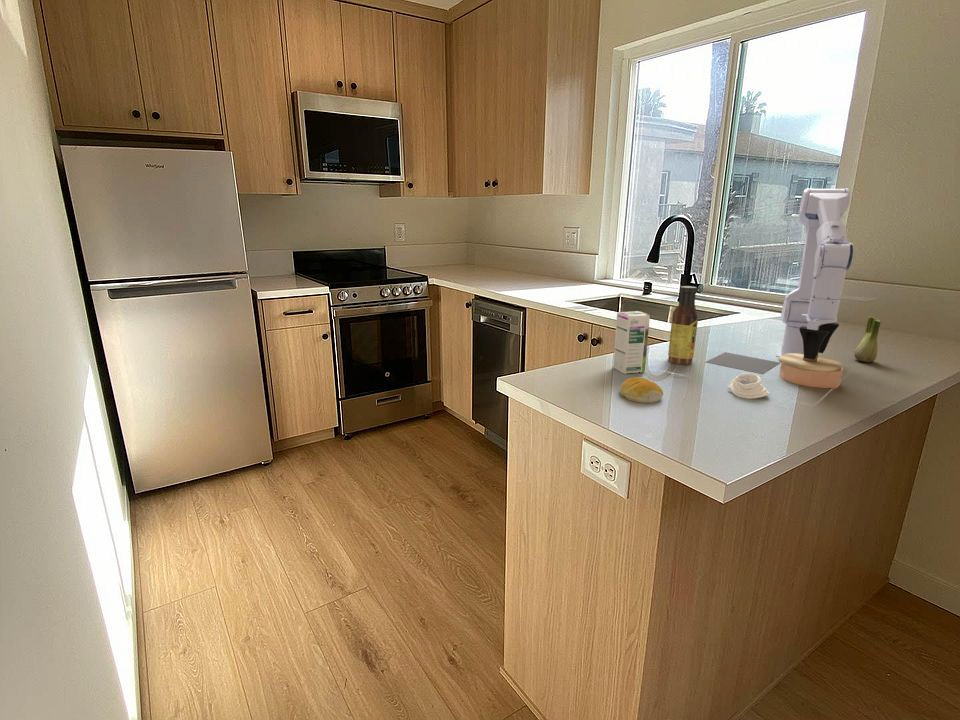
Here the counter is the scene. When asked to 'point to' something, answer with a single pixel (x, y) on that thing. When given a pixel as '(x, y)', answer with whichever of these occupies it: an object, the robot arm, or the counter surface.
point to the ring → (811, 377)
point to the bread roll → (641, 390)
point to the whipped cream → (748, 386)
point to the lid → (810, 362)
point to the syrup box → (631, 341)
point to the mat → (743, 362)
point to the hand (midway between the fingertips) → (813, 355)
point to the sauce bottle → (684, 328)
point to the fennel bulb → (868, 342)
